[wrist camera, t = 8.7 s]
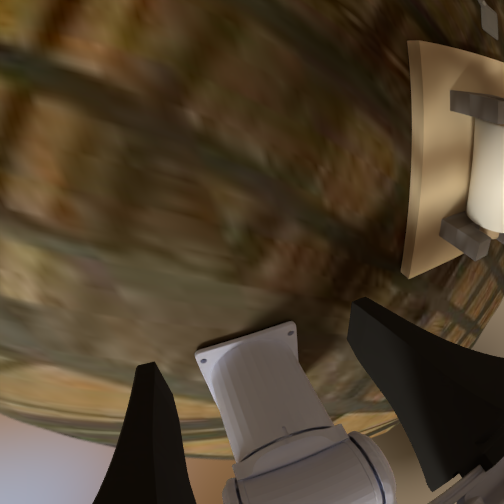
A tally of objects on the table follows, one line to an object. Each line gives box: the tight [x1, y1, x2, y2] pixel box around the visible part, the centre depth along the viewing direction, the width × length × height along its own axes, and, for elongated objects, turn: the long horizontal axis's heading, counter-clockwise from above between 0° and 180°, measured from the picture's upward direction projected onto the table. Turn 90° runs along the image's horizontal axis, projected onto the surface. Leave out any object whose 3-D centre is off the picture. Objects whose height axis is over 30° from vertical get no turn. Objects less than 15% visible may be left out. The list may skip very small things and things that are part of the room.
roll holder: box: [401, 40, 504, 279], centre depth 19 cm, size 19×13×6 cm
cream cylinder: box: [466, 118, 504, 239], centre depth 18 cm, size 11×5×5 cm
